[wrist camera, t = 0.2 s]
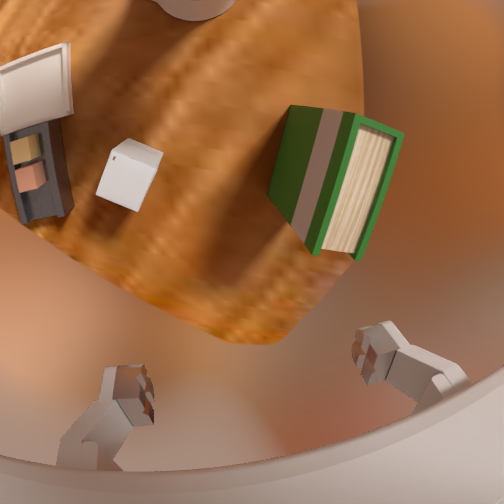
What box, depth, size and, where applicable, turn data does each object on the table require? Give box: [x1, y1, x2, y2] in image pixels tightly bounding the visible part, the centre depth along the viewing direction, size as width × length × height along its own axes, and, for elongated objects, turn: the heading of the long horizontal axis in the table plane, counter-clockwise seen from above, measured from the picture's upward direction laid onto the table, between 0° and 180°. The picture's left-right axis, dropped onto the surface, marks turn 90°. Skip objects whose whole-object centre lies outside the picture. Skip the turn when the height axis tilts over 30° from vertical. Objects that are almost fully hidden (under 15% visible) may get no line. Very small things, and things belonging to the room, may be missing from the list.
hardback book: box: [267, 105, 404, 261], centre depth 46 cm, size 18×7×24 cm, turn 167°
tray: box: [0, 42, 74, 136], centre depth 39 cm, size 14×16×2 cm
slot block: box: [3, 119, 74, 224], centre depth 45 cm, size 17×10×6 cm, turn 2°
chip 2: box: [15, 161, 46, 193], centre depth 42 cm, size 4×4×4 cm
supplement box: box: [96, 138, 163, 212], centre depth 46 cm, size 7×7×13 cm
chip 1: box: [10, 133, 41, 165], centre depth 40 cm, size 4×4×4 cm
